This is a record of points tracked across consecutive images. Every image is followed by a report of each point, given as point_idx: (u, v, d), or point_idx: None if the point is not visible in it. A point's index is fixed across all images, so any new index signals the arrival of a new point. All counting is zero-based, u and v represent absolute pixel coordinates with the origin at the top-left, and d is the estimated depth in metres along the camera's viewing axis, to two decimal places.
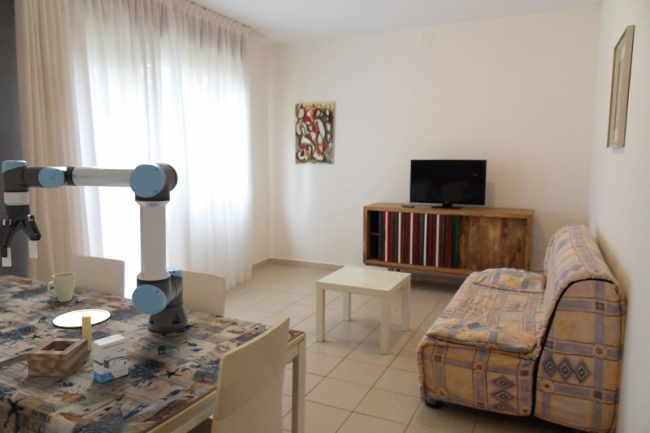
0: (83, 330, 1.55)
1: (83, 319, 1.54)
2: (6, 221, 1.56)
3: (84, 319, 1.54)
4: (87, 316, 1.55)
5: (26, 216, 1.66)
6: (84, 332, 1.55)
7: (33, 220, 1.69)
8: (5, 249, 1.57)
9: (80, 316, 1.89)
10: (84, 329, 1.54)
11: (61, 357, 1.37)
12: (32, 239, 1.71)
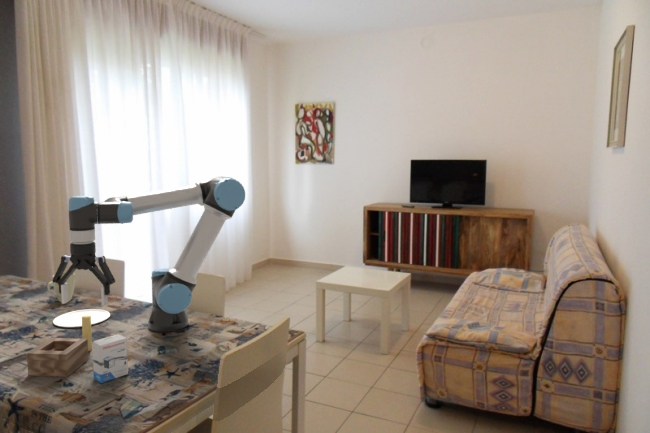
0: (83, 330, 1.55)
1: (83, 319, 1.54)
2: None
3: (84, 319, 1.54)
4: (87, 316, 1.55)
5: (89, 257, 1.51)
6: (84, 332, 1.55)
7: (100, 263, 1.52)
8: (60, 285, 1.53)
9: (80, 316, 1.89)
10: (84, 329, 1.54)
11: (61, 357, 1.37)
12: None
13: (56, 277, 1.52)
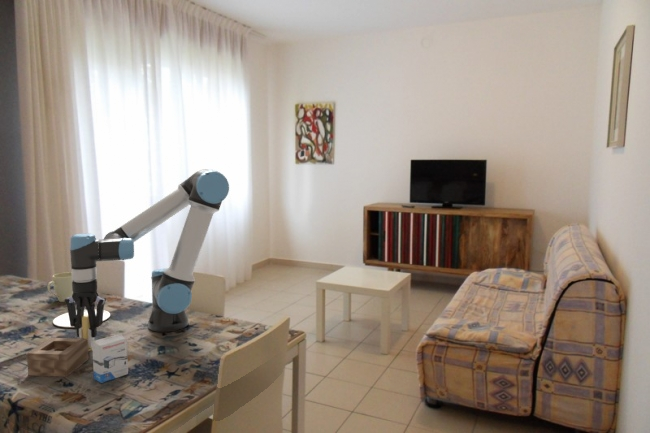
0: (83, 330, 1.55)
1: (83, 319, 1.54)
2: None
3: (84, 319, 1.54)
4: (87, 316, 1.55)
5: (93, 294, 1.53)
6: (84, 332, 1.55)
7: (98, 305, 1.53)
8: (77, 329, 1.55)
9: None
10: (84, 328, 1.54)
11: (61, 357, 1.37)
12: None
13: (72, 320, 1.54)
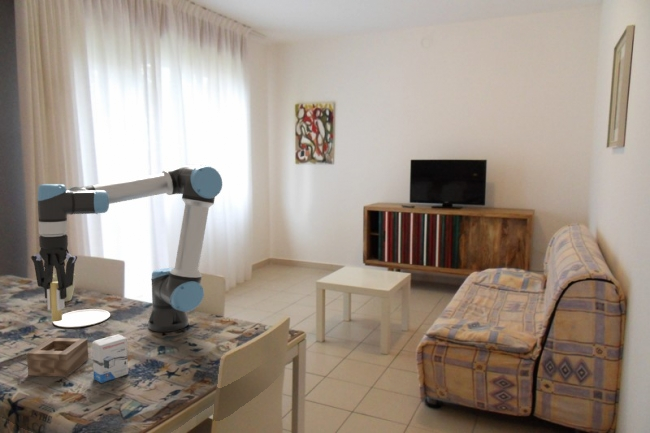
0: (52, 297, 1.40)
1: (52, 285, 1.40)
2: None
3: (53, 285, 1.40)
4: (56, 282, 1.41)
5: (62, 251, 1.39)
6: (53, 300, 1.40)
7: (68, 262, 1.39)
8: (46, 289, 1.41)
9: (80, 316, 1.89)
10: (53, 296, 1.40)
11: (61, 357, 1.37)
12: None
13: (39, 280, 1.40)
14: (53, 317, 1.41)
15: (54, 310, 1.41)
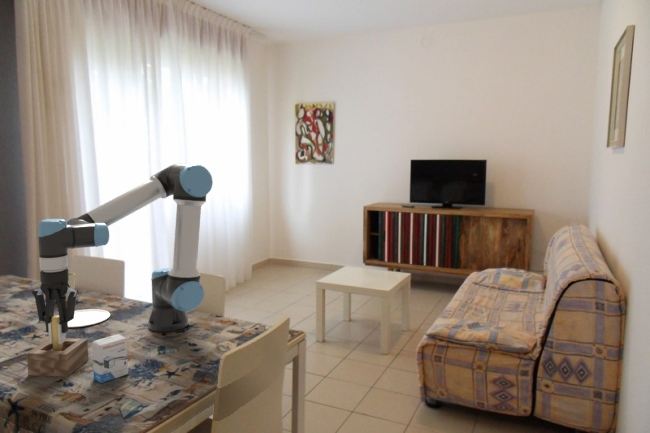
0: (53, 332, 1.41)
1: (53, 319, 1.41)
2: None
3: (54, 319, 1.41)
4: (58, 316, 1.42)
5: (63, 286, 1.39)
6: (54, 334, 1.41)
7: (69, 297, 1.40)
8: (47, 324, 1.41)
9: (80, 316, 1.89)
10: (54, 330, 1.41)
11: (61, 357, 1.37)
12: None
13: (40, 314, 1.40)
14: None
15: (55, 344, 1.42)
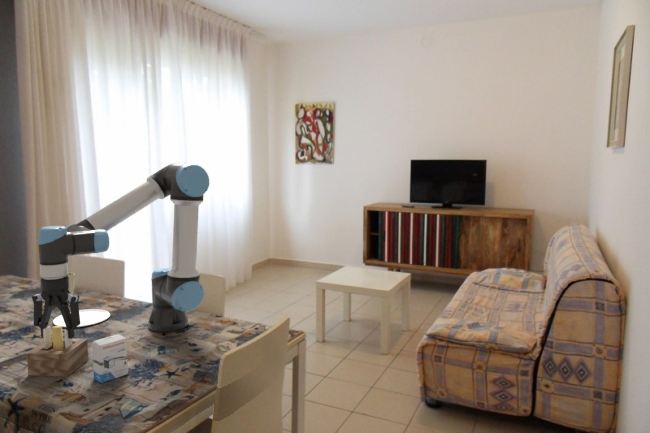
0: (54, 342, 1.42)
1: (53, 330, 1.41)
2: None
3: (54, 330, 1.41)
4: (58, 326, 1.43)
5: (63, 292, 1.40)
6: (55, 344, 1.42)
7: (71, 303, 1.40)
8: (42, 329, 1.42)
9: (80, 316, 1.89)
10: (55, 340, 1.42)
11: (61, 357, 1.37)
12: None
13: (36, 320, 1.41)
14: None
15: None
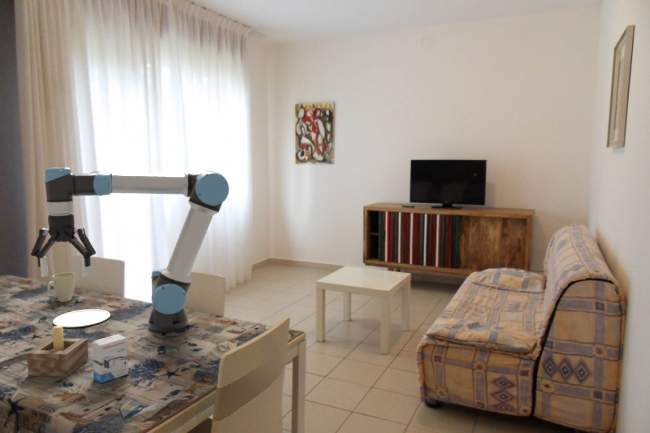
0: (54, 342, 1.42)
1: (54, 330, 1.41)
2: None
3: (55, 330, 1.41)
4: (58, 327, 1.43)
5: (68, 229, 1.51)
6: (55, 344, 1.42)
7: (79, 234, 1.51)
8: (39, 258, 1.52)
9: (80, 316, 1.89)
10: (56, 340, 1.42)
11: (61, 357, 1.37)
12: None
13: (35, 250, 1.51)
14: None
15: None
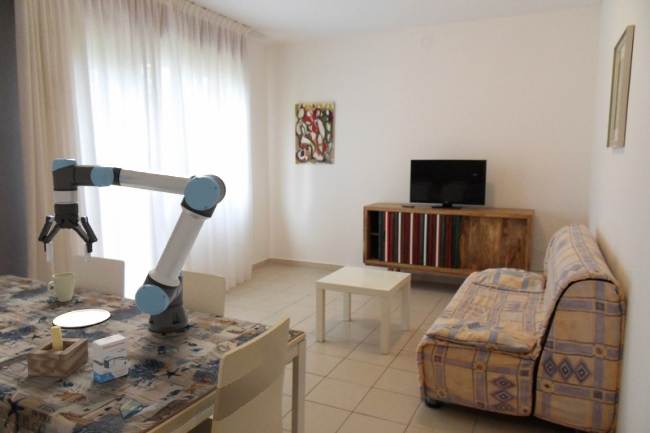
0: (53, 342, 1.42)
1: (52, 330, 1.41)
2: None
3: (53, 330, 1.41)
4: (56, 327, 1.42)
5: (72, 216, 1.60)
6: (54, 344, 1.42)
7: (82, 222, 1.60)
8: (45, 244, 1.62)
9: (80, 316, 1.89)
10: (54, 341, 1.41)
11: (61, 357, 1.37)
12: None
13: (41, 236, 1.61)
14: None
15: None
